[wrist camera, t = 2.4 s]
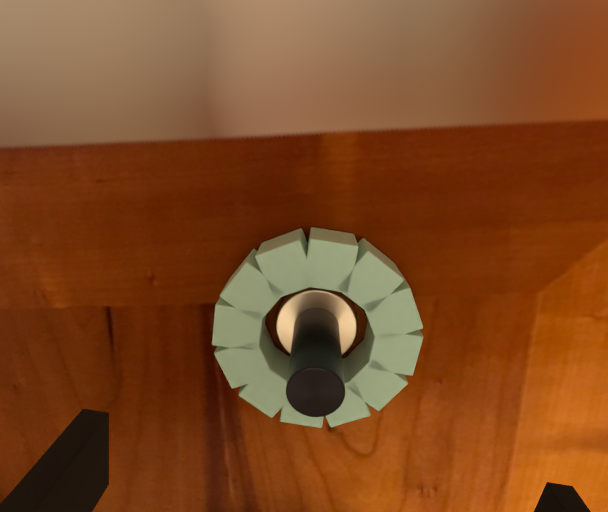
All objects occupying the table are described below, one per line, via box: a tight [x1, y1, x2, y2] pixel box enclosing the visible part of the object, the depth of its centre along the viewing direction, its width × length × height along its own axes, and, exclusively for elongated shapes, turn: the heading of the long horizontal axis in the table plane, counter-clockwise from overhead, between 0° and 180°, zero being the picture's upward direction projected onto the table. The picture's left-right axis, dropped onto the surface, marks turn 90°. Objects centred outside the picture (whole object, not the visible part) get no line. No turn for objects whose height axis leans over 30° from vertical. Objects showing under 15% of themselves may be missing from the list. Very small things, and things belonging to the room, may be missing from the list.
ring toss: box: [275, 287, 357, 417], centre depth 19 cm, size 4×4×6 cm
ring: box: [212, 227, 423, 428], centre depth 21 cm, size 10×10×2 cm
